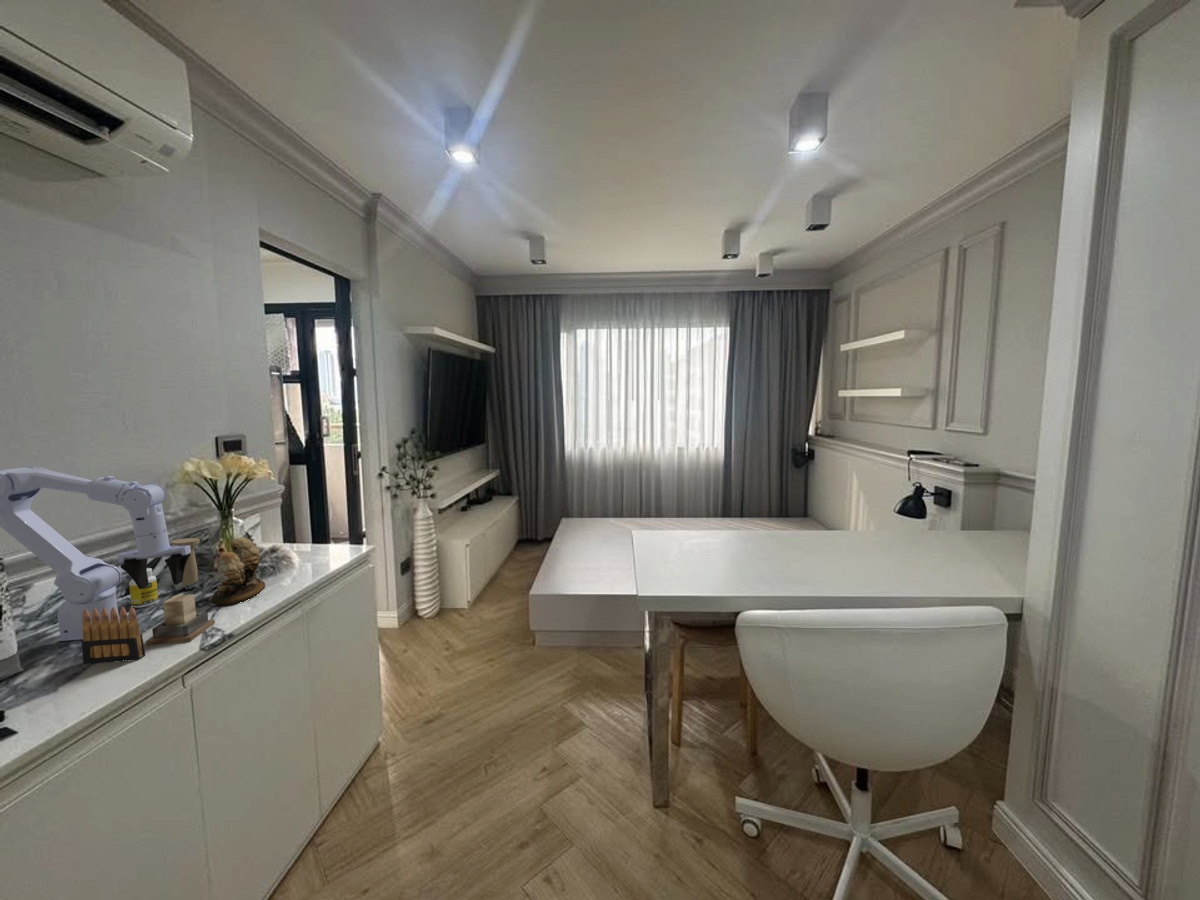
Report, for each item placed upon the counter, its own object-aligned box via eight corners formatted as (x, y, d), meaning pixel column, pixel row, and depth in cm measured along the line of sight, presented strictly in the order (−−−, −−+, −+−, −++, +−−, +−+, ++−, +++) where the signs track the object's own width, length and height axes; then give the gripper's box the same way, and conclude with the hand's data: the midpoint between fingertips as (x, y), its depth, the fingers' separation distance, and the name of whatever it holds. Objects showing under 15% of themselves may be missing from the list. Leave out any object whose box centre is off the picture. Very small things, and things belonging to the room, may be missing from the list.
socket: (146, 645, 106) (144, 630, 106) (174, 626, 115) (173, 613, 115) (190, 641, 108) (189, 627, 108) (214, 623, 117) (213, 610, 116)
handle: (195, 591, 137) (190, 542, 135) (172, 592, 136) (167, 543, 134) (207, 584, 141) (203, 537, 140) (185, 585, 141) (180, 538, 139)
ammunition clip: (82, 664, 99) (76, 611, 97) (91, 659, 101) (84, 607, 99) (138, 660, 100) (132, 607, 99) (145, 655, 102) (139, 604, 101)
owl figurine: (226, 585, 141) (222, 531, 139) (272, 580, 145) (268, 528, 144) (201, 609, 124) (196, 548, 123) (254, 603, 129) (249, 544, 127)
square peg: (166, 634, 109) (163, 602, 108) (178, 626, 113) (175, 595, 112) (185, 632, 110) (182, 601, 109) (197, 625, 114) (194, 594, 113)
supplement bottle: (142, 609, 125) (138, 574, 124) (126, 607, 126) (122, 573, 125) (164, 600, 130) (160, 567, 129) (148, 599, 131) (144, 566, 130)
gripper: (195, 525, 119) (204, 575, 120) (130, 531, 116) (140, 582, 118) (175, 532, 112) (185, 585, 113) (106, 540, 109) (117, 594, 111)
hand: (161, 585), depth 115 cm, fingers open, 7 cm apart
